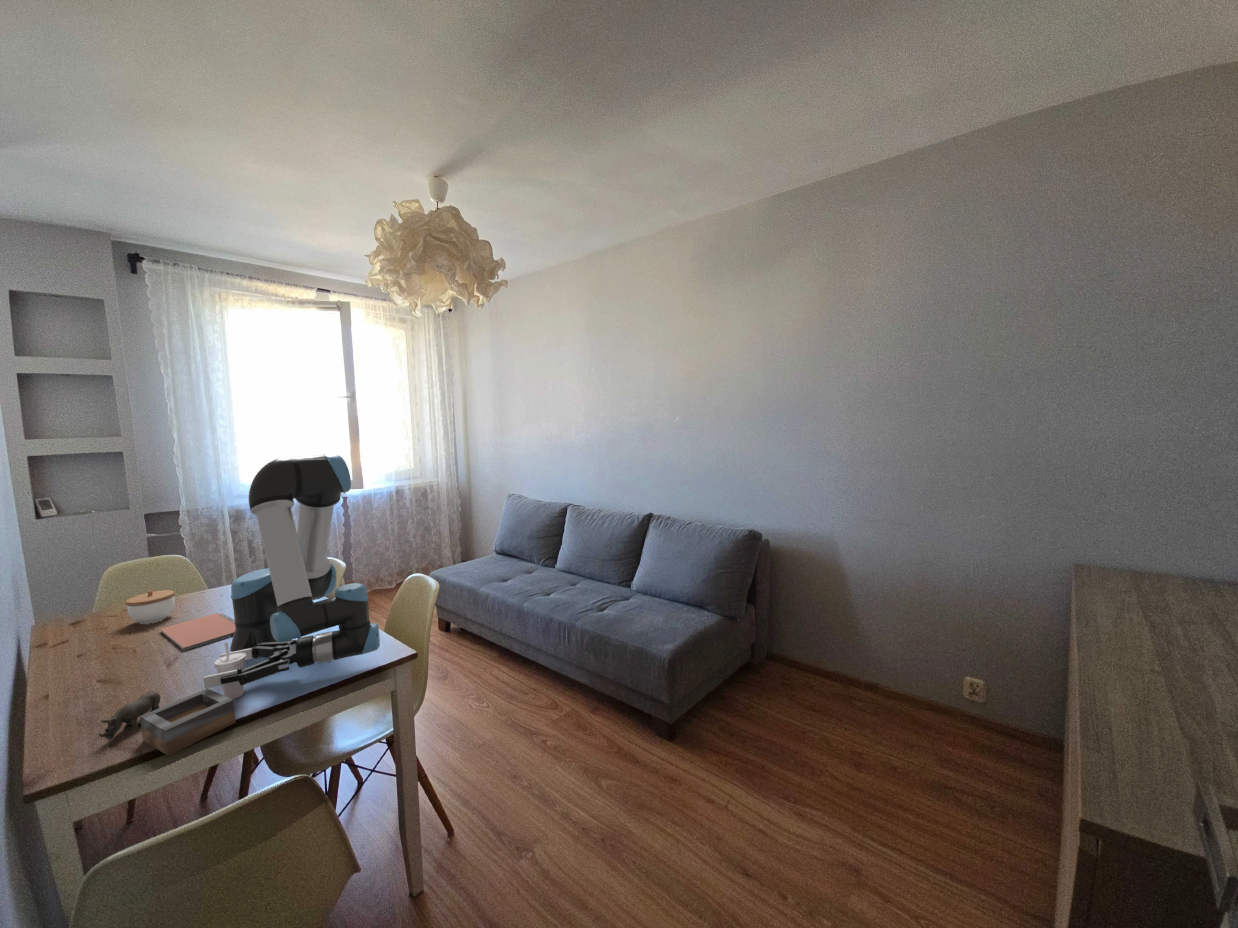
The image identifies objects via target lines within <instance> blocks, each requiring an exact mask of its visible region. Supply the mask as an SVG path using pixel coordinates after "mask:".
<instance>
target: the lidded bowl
mask: <svg viewBox="0 0 1238 928" xmlns="http://www.w3.org/2000/svg"><path fill="white" fill-rule="evenodd" d="M175 603H176V600H175V591H174V590H170V589H167V590H165V589H164V590H156V591H153V590H152V589H151V590H147V592H145V593H142V594H138V595H135V596H133V597H130V598H128V599H127V600H126V601H125V605H126V610H127V613H128V615H129V617H130V618H131V620H133V621H134V622H136V623H138V624H140V625H142V624H145V625H151V624H150V623H152V624H155V623H154V622H156V623H158V622H157V621H160V620H162V619H165V618H166V617H167V618H168V616H169V615H171V613H172V612H173V610H174V608H175ZM167 618H166V619H167ZM166 619H165V620H166ZM162 621H163V620H162ZM160 622H161V621H160Z"/></svg>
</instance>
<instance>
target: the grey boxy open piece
mask: <svg viewBox="0 0 1238 928" xmlns="http://www.w3.org/2000/svg"><path fill="white" fill-rule="evenodd" d="M234 702H235V701H234V699H231V698H228V697H226V696H225V695H224V694H222V693H219V692H217V691H215V690H212V689H210V688H206V689H205V688H204V689H202V690H200V691H197V692H195V693H193V694H190V695H188V696H186V697H183V698H180V699H179V700H176V701H174V702H170V703H169V704H166V705H164V706H161V707H159V709H156V710H154V711H152V712H150V711H148V712H147V713H145V714H144V715H142V716H139V718H140V725H141V728H140V729H141V734H142V741H144V742H146V743H147V744H148V745H150V746H152V747H153V748H155V749H157V750H158V751H160V752H161V753H163V754H164V755H166V756H168V757H169V756H171V755H173V754H176V753H178V752H180V751H182V750H183V749H186V748H188V747H189V746H192V745H193V744H195V743H197V742H199V741H200V742H201V740H204V739H206V738H207V737H210V736H211V735H213V734H215V733H217V732H220V731H222V730H224V729H226V728H228V727H231V726H232V725H234V724H236V723H237V722H236V721H237V720H236V713H235V712H236V711H235V703H234Z"/></svg>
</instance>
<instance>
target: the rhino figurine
mask: <svg viewBox="0 0 1238 928" xmlns="http://www.w3.org/2000/svg"><path fill="white" fill-rule="evenodd" d="M160 702H161V694H159V693H158V692H157V691H154V690H149V691H147V692H145V693H143V694H142V695H141V694H140V696H139V697H137V698H136V699H134V700H133V701H132V702H129V703H125V704H123V705H121V706H120V707H119V708H118V709H117V710H116V711H115V713H114V714H113V715H112V716H111V717H110V718H108V719H101V720H100V722H101V723H103V724H107V727H106V728H104V731H105V733H98V736H99V737H100V738H105V739H107V740H111V739H112V738H113V737H114V736H115V735H116V733H117V732H119V730H121V728H122V725H123V723H125V725H124V727H123V729H124V730H126V729H129V731H132V732H133V731H135V730H138V729H139V725H138V721H137V720H138V718H140V716H142V715H144V714H147V713H149V712H152V711H154V710H156V709H159V708H160Z"/></svg>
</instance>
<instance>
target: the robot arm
mask: <svg viewBox="0 0 1238 928" xmlns="http://www.w3.org/2000/svg"><path fill="white" fill-rule="evenodd" d="M351 479H352V478H351V475H350V470H349V467H348V465H347V463H346V461H345V459H344V458H343V457H342V456H341V455H338V454H325V453H324V454H322V455H321V454H320V455H309V456H308V455H306V456H296V457H288V456H287V457H280V458H276V459H273V460H271V461H269V462H267V463H266V464H264V465H263V466H262V467H261V468H260V470H259V471H258V472H257V473H256V475H255V476H254V478H253V480H252V481H251V484H250V487H249V491H248V506H249V510H250V514H253V515H255V516H256V519H257V524H258V527H259V533H260V537H261V540H262V544H263V550H264V554H265V558H266V563H267V567H266V568H261V569H257V570H253V571H250V572H247V573H245V574H243V575H241V576H239V577H237V578H236V579H234V580H233V581H232V582H231V586H230V589H231V593H230V594H231V595H230V598H231V601H232V609H233V617H234V618H233V620H235V632H234V636H232V639H231V640H232V641H231V643H230V647H229V649H230V650H229V651H230V652H229V655H230V654H234V653H245V654H246V657H247V659H246V660H245V661H248V660H249V661H250V660H256V659H258V658H267V659H266V660H262V661H261V662H258V663H255V664H253V665H250V666H248V667H245V669H243V670H242V669H240V668H238V669H237V670H232V671H228V672H223V673H218V672H217V673H214V674H209V675H206V676H203V684H204V685H203V686H204V689H206V688H208V689H210V688H214V687H219V686H222V685H224V684H229V683H233V682H238V681H239V683H240V685H244V686H245V685H247V684H249V683H253V682H255V681H257V680H261V679H264V678H266V677H269V676H272V675H276V674H279V673H283V672H286V671H289V670H290V665H291V664H294V663H296V665H297V667H298V668H305V667H309V666H313V665H314V664H316V663H317V664H323V663H329V664H330V663H331V662H332V661H337V660H341V659H345V658H351V657H355V656H362V655H364V654H369V653H372V652H375V651H377V650H378V649H380V645H381V644H380V643H381V638H380V630H379V629H380V628H379V624H378V623H377V622H374V623H371V620H370V611H369V610H370V608H369V607H370V606H369V596H368V590H367V586H366V585H365V584H363V583H360V582H354V583H347V584H343V585H342V586H339V587H337V588H336V585H337V577H336V575H337V570H336V567H335V565H334V564H333V562H332V561H331V560H330V559H329V558H328V557H327V555H328V549H329V542H330V534H331V528H332V526H331V525H332V521H333V513H334V506H335V505H337V504H338V503H339V502H340V501H341V497H342V493H343V494H345V493H348V492H349V491H350V490H351V488H352V487H351V486H352V480H351ZM294 499H295V500H296V502H297V503H298V504H299V513H298V523H297V529H296V524H295V520H294V517H293V513H292V508H293V506H295V502H294ZM334 590H335V593H334V596H333V597H330V598H325V599H322V598H324V597H328V596H330V595H331V594H332V593H333V592H334ZM315 600H318V601H315ZM336 626H338V630H331V631H327V632H321V633H317V632H320V631H323V630H327V629H331V628H334V627H336ZM314 633H317V634H316V635H311V634H314ZM224 656H226V652H224V653H220V657H219V658H221V657H224Z"/></svg>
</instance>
